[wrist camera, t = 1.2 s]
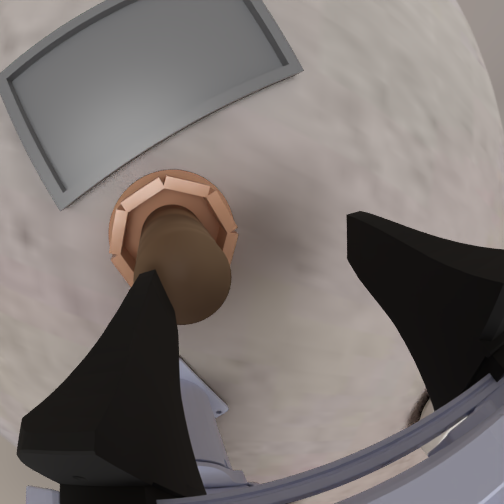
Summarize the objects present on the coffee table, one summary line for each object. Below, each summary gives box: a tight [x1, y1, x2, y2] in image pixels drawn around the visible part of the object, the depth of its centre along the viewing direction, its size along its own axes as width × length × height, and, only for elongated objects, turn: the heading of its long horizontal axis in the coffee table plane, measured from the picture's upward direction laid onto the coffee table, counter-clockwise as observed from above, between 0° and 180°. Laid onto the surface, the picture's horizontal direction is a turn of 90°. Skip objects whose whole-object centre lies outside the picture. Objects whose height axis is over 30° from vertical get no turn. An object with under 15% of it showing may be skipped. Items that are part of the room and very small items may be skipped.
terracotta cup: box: [109, 170, 239, 287], centre depth 18 cm, size 8×8×2 cm
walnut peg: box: [133, 204, 231, 325], centre depth 15 cm, size 4×4×8 cm
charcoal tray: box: [0, 0, 304, 211], centre depth 15 cm, size 18×11×2 cm, turn 119°
